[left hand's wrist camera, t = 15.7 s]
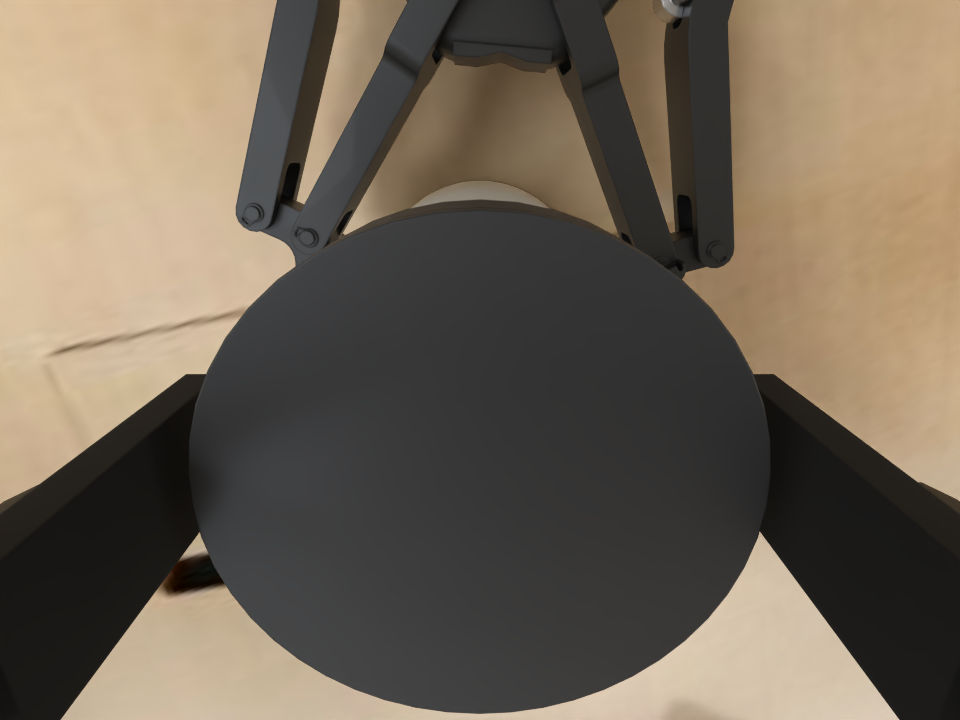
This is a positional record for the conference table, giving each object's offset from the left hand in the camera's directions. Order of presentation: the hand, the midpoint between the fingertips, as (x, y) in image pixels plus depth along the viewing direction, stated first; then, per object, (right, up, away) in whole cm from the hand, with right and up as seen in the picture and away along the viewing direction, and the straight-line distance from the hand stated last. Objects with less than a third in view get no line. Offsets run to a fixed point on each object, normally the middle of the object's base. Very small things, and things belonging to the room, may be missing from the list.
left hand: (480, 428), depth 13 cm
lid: (0, -1, -3) cm, 3 cm away
